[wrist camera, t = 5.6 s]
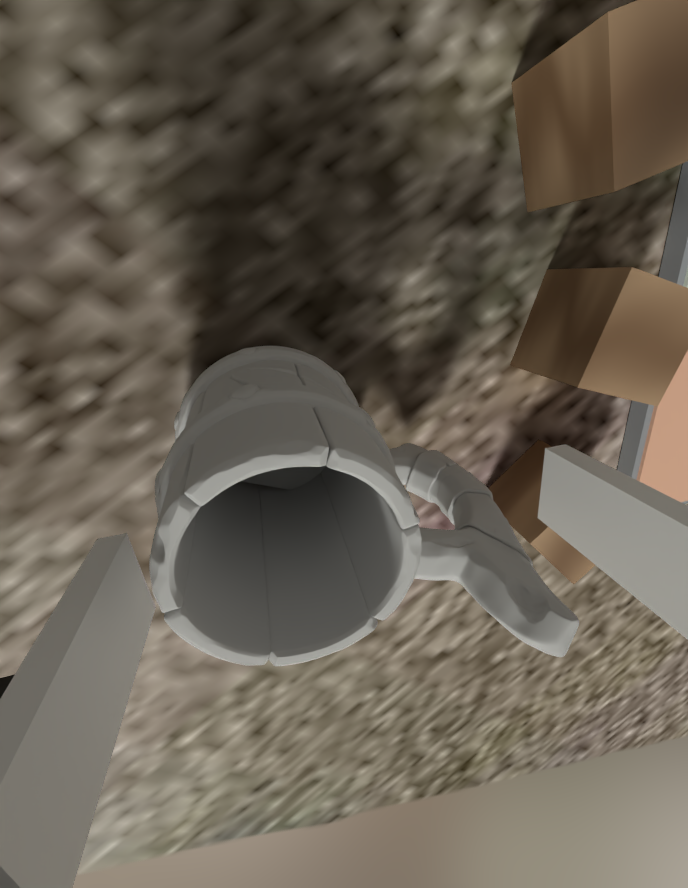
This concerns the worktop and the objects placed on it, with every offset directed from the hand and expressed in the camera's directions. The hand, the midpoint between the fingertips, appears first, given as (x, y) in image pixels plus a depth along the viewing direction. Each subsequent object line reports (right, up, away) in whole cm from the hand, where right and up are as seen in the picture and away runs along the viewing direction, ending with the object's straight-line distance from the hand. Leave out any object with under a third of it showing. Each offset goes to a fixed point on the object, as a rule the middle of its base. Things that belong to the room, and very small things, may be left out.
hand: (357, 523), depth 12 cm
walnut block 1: (+10, 0, +11) cm, 15 cm away
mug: (-2, +3, +6) cm, 7 cm away
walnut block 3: (+11, +8, +7) cm, 15 cm away
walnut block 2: (+9, +15, +4) cm, 18 cm away
